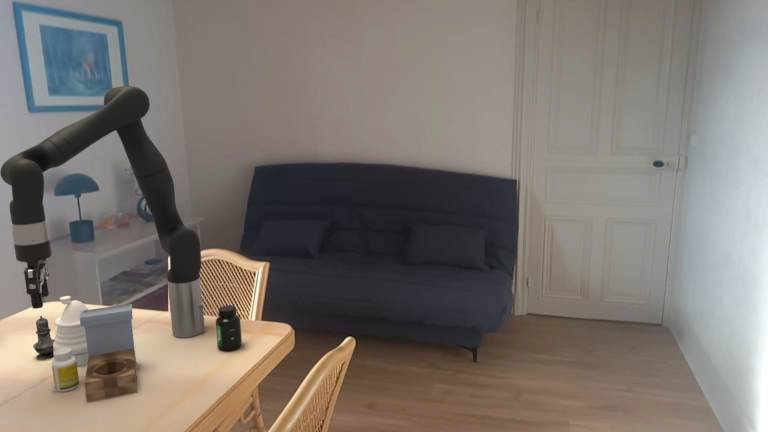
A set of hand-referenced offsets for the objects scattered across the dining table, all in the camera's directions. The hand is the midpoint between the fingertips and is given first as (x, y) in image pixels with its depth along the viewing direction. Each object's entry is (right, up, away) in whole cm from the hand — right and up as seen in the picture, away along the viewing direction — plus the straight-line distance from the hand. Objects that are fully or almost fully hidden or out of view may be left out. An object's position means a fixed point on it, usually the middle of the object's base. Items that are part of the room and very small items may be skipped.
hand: (41, 301), depth 142 cm
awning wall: (+14, -20, +8) cm, 26 cm away
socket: (+17, -21, +2) cm, 27 cm away
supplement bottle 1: (+6, -22, 0) cm, 23 cm away
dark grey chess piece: (-9, -18, +17) cm, 26 cm away
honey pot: (+1, -18, +16) cm, 24 cm away
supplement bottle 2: (+42, -17, +22) cm, 50 cm away
